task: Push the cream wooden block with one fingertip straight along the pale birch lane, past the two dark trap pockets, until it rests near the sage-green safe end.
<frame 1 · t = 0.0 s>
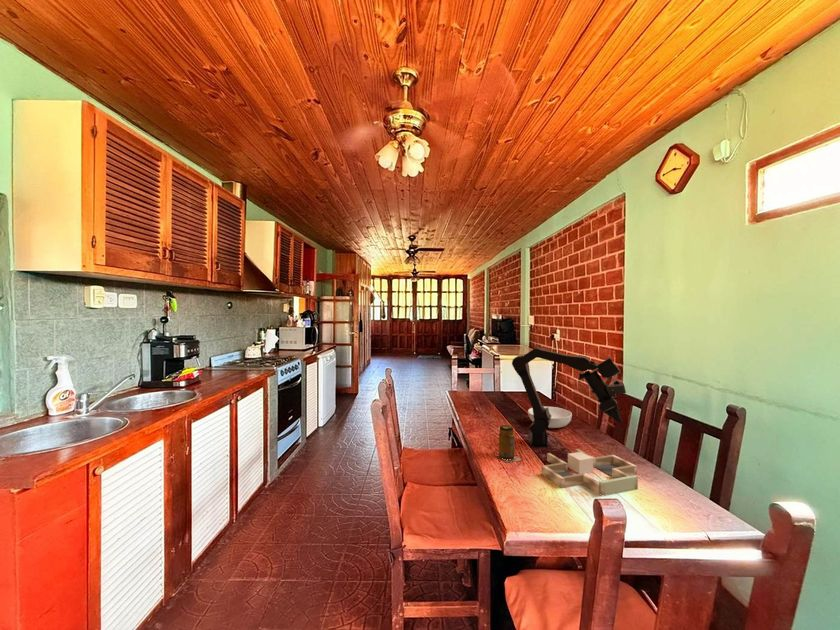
hand: (620, 419, 141), 15 cm above the table, tool tilted 35°, fingers open, 9 cm apart
block: (580, 469, 131), on the table
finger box: (589, 474, 127), on the table
trap pockets: (589, 474, 127), on the table
serving bowl: (549, 425, 181), on the table
condiment: (507, 458, 142), on the table
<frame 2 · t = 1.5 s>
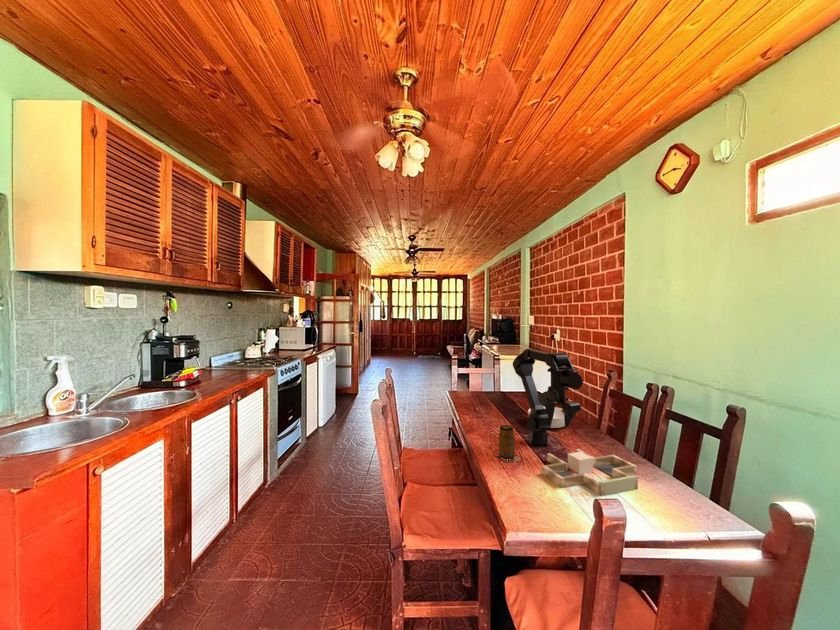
hand: (558, 423, 143), 13 cm above the table, tool pointing down, fingers open, 9 cm apart
nothing on the table moved.
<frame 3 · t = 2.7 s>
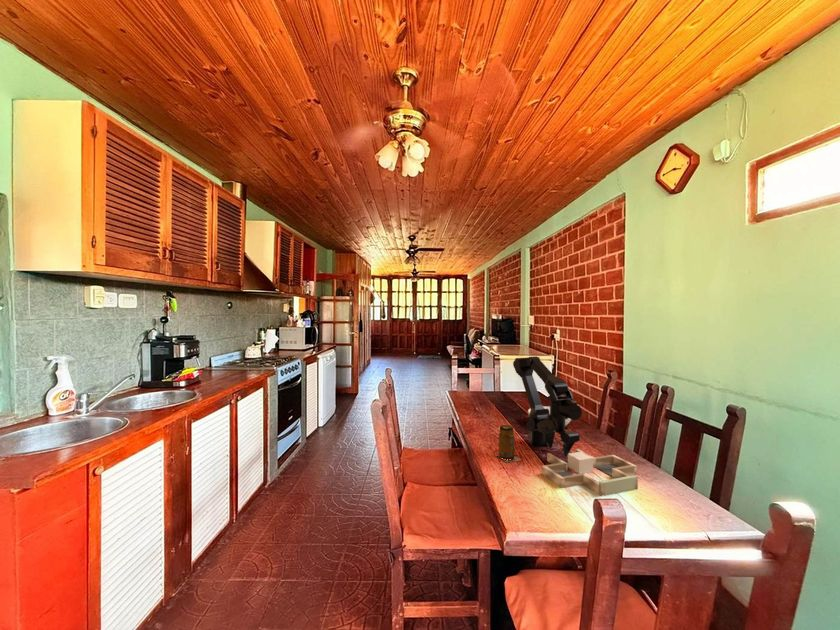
hand: (557, 451, 143), 2 cm above the table, tool pointing down, fingers open, 9 cm apart
nothing on the table moved.
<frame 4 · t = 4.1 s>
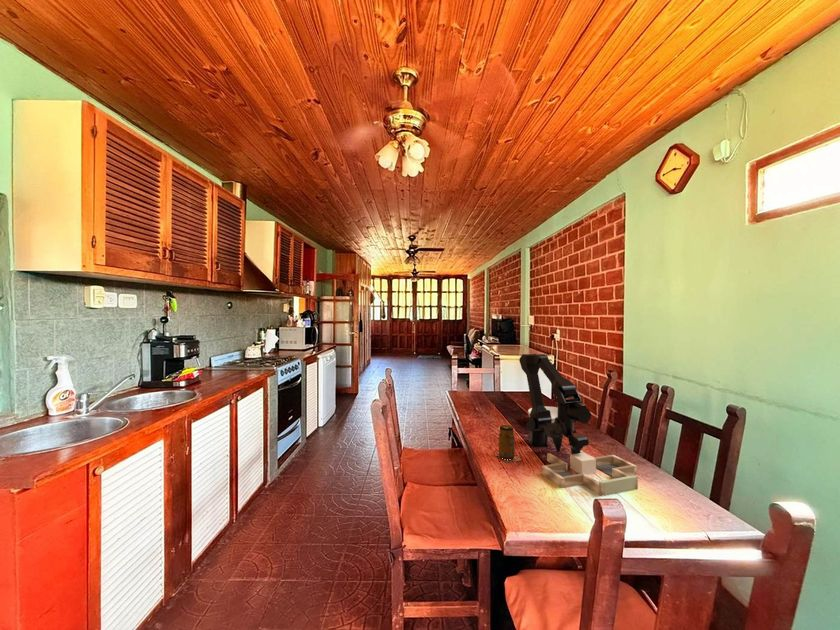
hand: (565, 456, 139), 2 cm above the table, tool pointing down, fingers open, 8 cm apart
block: (582, 470, 130), on the table, touching gripper
everything else where it was.
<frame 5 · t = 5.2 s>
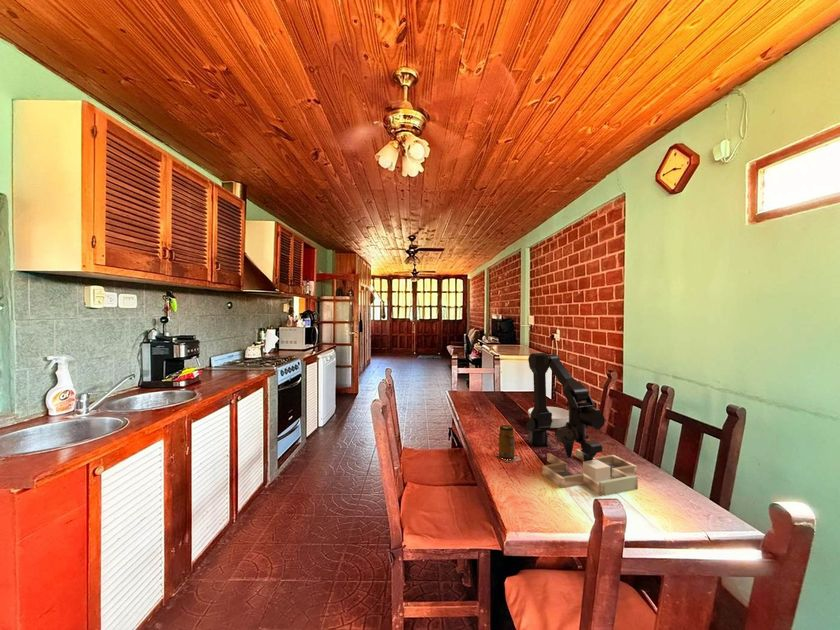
hand: (577, 462, 133), 2 cm above the table, tool pointing down, fingers open, 9 cm apart
block: (596, 478, 124), on the table, touching gripper
everything else where it was.
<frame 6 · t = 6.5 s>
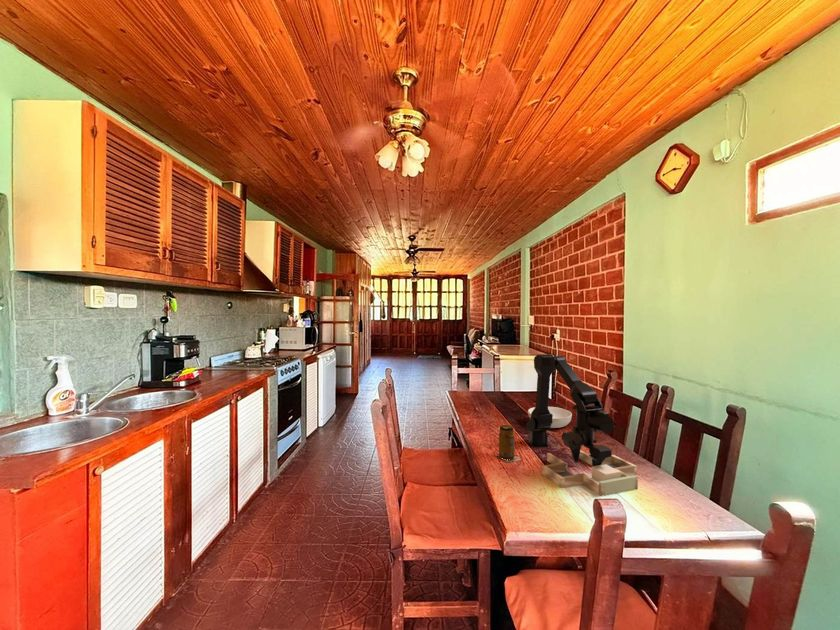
hand: (585, 467, 129), 2 cm above the table, tool pointing down, fingers open, 9 cm apart
block: (605, 484, 120), on the table, touching gripper
everything else where it was.
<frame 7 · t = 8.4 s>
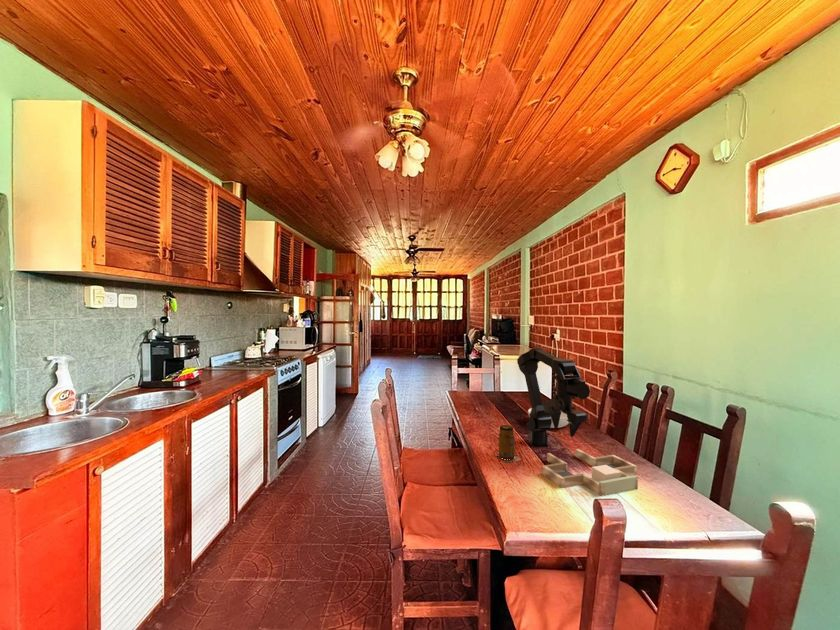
hand: (563, 432, 140), 11 cm above the table, tool pointing down, fingers open, 9 cm apart
block: (605, 484, 120), on the table
everything else where it was.
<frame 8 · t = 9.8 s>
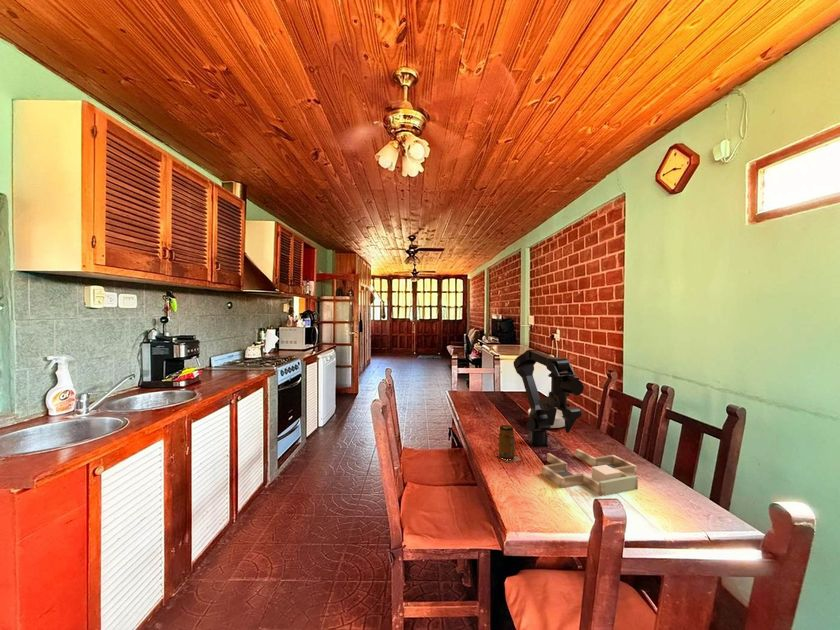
hand: (559, 429, 142), 11 cm above the table, tool pointing down, fingers open, 9 cm apart
nothing on the table moved.
at the end: block inside the target area (0.1 cm from its centre), on the table; block touching table; block moved 11.9 cm from its start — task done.
